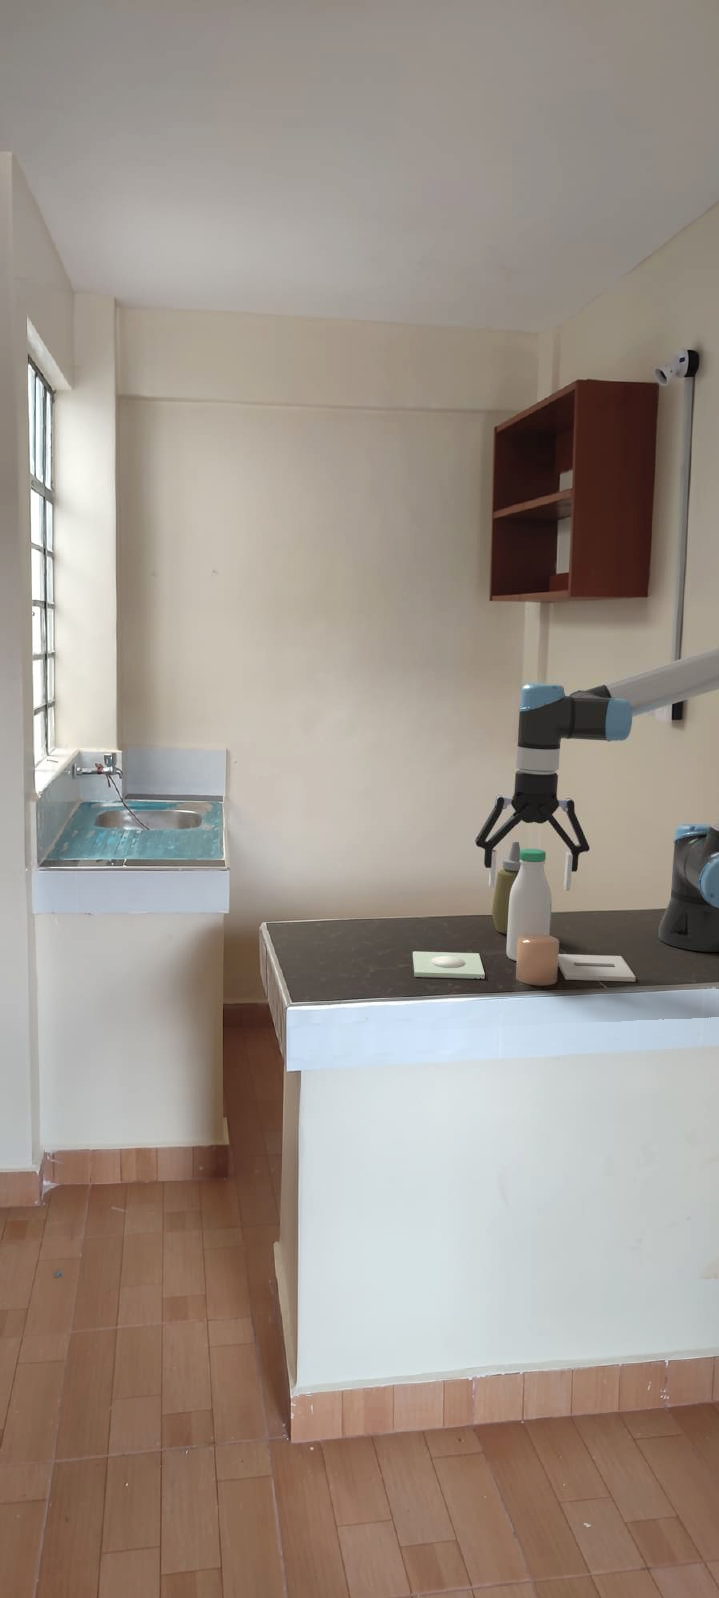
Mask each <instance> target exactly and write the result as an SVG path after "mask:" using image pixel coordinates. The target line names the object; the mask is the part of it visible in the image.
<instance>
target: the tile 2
mask: <svg viewBox="0 0 719 1598" xmlns="http://www.w3.org/2000/svg"><path fill="white" fill-rule="evenodd" d="M558 969H560V973H562V976H563V978H564V979H565V980H568V981H569V980H570V981H571V980H572V981H573V980H577V981H601V982H602V981H603V982H604V981H605V982H609V981H610V982H636V975H635V974H634V973H633V971H632V970H631V968H630V967H629V965H628V964H627V963H626V961H625V960H624V958H623V957H622V956H621V955H598V954H597V955H596V954H592V955H591V954H569V953H568V954H566V953H563V954H561V953H558Z"/></svg>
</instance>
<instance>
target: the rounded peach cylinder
mask: <svg viewBox="0 0 719 1598" xmlns="http://www.w3.org/2000/svg"><path fill="white" fill-rule="evenodd" d="M559 948H560V940H559V938H557V937H554V936H552V935H550V936H549V935H543V934H525V935H521V936H519V937H518V945H517V961H516V966H515V968H516V969H515V979H516V980H517V981H519V982H520V983H522V982H523V984H526V985H529V986H530V985H531V986H550V985H554V984H556V983H557V982H558V969H559V966H558V954H560V953H559V950H560V949H559Z"/></svg>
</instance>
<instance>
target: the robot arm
mask: <svg viewBox="0 0 719 1598" xmlns="http://www.w3.org/2000/svg"><path fill="white" fill-rule="evenodd" d="M717 690H719V646H716V647H713V648H710V649H707V650H703V651H701V652H698V653H695V654H692V655H689V656H687V657H683V658H680V659H677V660H674V661H671V662H668V663H665V664H662V665H659V666H656V667H653V668H650V669H646V670H643V671H641V672H638V673H635V674H632V675H629V676H625V677H622V678H619V679H616V680H612V681H609V682H607V683H604V684H603V685H598V686H596V687H592V688H589V689H587V690H581V689H578V690H577V691H576V690H575V691H573V692H570V693H568V694H567V695H566V693H565V688H564V686H563V685H561V684H556V683H555V684H554V683H539V682H538V683H537V682H536V683H535V682H534V683H526V684H524V686H523V687H522V689H521V693H520V694H521V695H520V704H519V708H518V712H519V713H518V728H517V729H518V730H517V732H518V734H517V735H518V736H517V749H516V765H515V767H516V768H517V770H516V772H515V775H514V776H515V777H514V793H513V796H512V797H505V796H502V794H501V795H500V794H498V795H497V796H496V798H495V803H494V807H493V809H492V810H491V813H490V814H489V816H488V817H487V818H486V821H485V823H484V824H483V826H482V827H481V829H480V831H479V833H478V835H477V836H476V837H475V844H476V846H477V847H478V848H481V849H483V850H484V857H483V864H484V867H485V868H486V869H489V875H488V886H489V887H490V888H495V886H496V882H495V881H496V870H497V869H496V867H497V850H496V848H495V847H496V846H497V845H498V844H500V842H501V841H502V840H503V839H505V837H507V835H509V833H510V832H511V831H512V830H513V829H514V828H515V827H516V826H517V825H519V823H520V822H521V821H522V822H524V823H526V824H533V823H535V824H536V823H537V824H541V825H542V824H544V823H546V822H547V821H548V823H549V824H550V825H551V826H552V828H553V829H554V830H555V832H556V833H557V834H558V836H559V837H560V838H561V840H563V843H565V845H566V846H567V848H569V850H570V851H566V852H565V861H564V875H563V876H564V877H563V888H564V890H565V891H571V884H572V872H573V873H574V872H575V873H576V872H577V871H578V869H579V868H578V866H579V857H580V854H581V853H586V852H589V851H590V849H591V848H590V845H589V843H588V839H587V838H586V836H585V834H584V831H583V829H582V826H581V824H580V822H579V818H578V816H577V815H576V811H575V810H576V809H575V801H574V800H573V799H572V798H570V797H567V798H566V799H558V782H559V775H558V773H557V771H558V770H559V768H560V756H561V755H560V753H561V741H562V739H564V740H565V739H567V740H571V739H574V740H585V741H587V740H589V741H590V740H591V741H606V742H613V741H615V742H617V741H619V742H621V741H625V740H627V739H628V737H630V734H631V731H632V726H633V717H637V716H639V715H642V714H645V713H648V712H649V713H650V712H651V711H655V710H658V709H660V708H665V707H667V706H670V705H673V704H676V703H680V702H683V701H686V700H689V699H692V698H695V697H698V696H701V695H705V694H708V693H711V692H714V691H717ZM510 805H511V807H512V808H513V809H514V812H513V813H512V814H511V815H510V816H509V818H508V819H507V820H506V821H505V822H504V823H503V824H502V826H500V827H499V828H498V830H496V831H495V833H494V834H493V835H491V837H490V838H489V839H488V840H487V838H488V837H489V835H490V833H491V832H492V830H493V828H494V827H495V825H496V823H497V821H498V820H499V818H500V816H501V814H502V812H503V810H506V809H507V808H508V806H510ZM559 807H560V808H561V810H562V811H563V812H564V813H566V815H567V818H568V820H569V822H570V824H571V827H572V829H573V832H574V834H575V836H576V839H577V841H578V844H576V843H574V841H573V840H572V839H571V837H570V836H569V835H568V833H567V832H566V831H565V830H564V828H563V827H562V826H561V824H560V822H559V821H558V820H557V819H556V818H555V816H554V813H555V812H556V811H557V810H558V809H559ZM672 859H673V860H672V873H671V875H672V876H671V886H670V887H671V889H670V899H669V902H668V905H667V907H666V909H665V911H664V913H663V916H662V918H661V921H660V923H659V926H658V938H659V940H660V941H661V942H663V943H665V944H667V945H669V946H671V947H675V948H679V949H682V950H683V949H684V950H689V951H695V952H696V951H697V952H705V953H706V952H708V953H716V952H717V953H719V820H718V821H715V822H714V823H712V824H706V823H705V824H702V823H687V824H680V825H678V826H677V828H676V829H675V836H674V839H673V858H672Z"/></svg>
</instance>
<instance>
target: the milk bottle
mask: <svg viewBox="0 0 719 1598" xmlns="http://www.w3.org/2000/svg"><path fill="white" fill-rule="evenodd" d="M546 855H547V854H546V851H545V850H543V849H540V848H523V849H520V862H521V867H520V870H519V873H518V875H517V877H516V879H515V881H514V883H513V885H512V888H511V892H510V898H509V912H508V930H507V934H506V955H507V957H508V958H509V959H510V960H512V961H514V962H515V961H516V962H517V945H518V937H519V936H521V935H525V934H543V935H549V936H551V927H552V926H551V925H552V901H553V899H552V890H551V886H550V884H549V882H548V879H547V876H546V873H545V864H546V857H547V856H546Z"/></svg>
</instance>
